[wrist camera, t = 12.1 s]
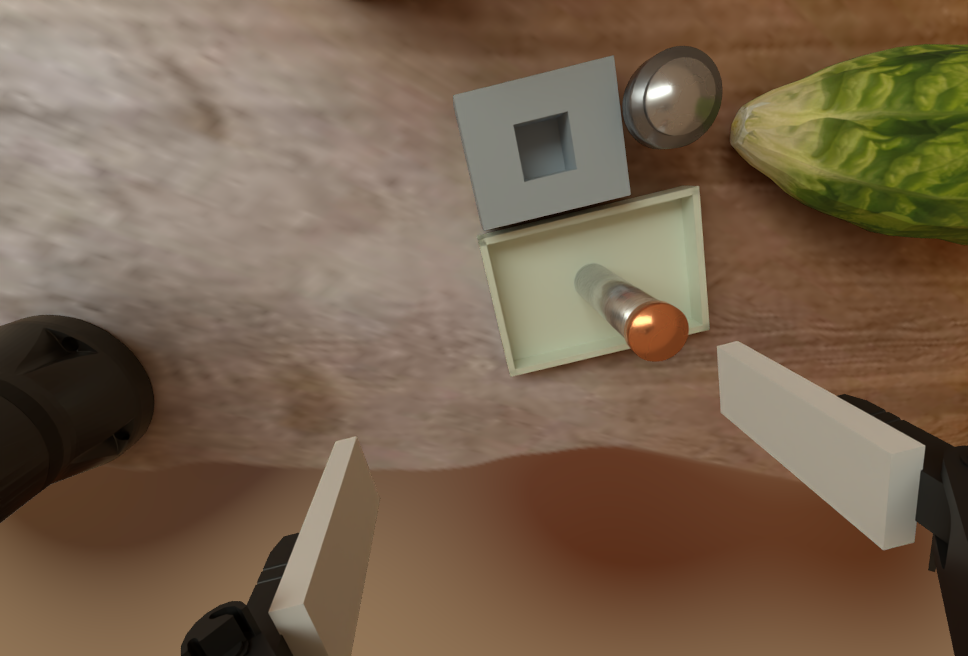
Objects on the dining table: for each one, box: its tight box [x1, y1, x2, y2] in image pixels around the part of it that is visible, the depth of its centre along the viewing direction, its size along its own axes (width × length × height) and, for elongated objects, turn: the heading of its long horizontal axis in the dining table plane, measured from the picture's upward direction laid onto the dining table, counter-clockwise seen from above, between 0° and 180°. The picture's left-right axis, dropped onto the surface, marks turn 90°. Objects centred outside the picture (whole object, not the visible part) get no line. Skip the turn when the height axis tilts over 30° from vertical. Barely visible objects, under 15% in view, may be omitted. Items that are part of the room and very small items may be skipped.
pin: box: [574, 263, 689, 362], centre depth 36 cm, size 4×4×15 cm
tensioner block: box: [453, 55, 631, 231], centre depth 37 cm, size 12×10×5 cm
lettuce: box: [730, 44, 968, 245], centre depth 36 cm, size 14×23×13 cm, turn 81°
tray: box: [477, 185, 710, 377], centre depth 42 cm, size 19×13×3 cm
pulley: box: [623, 46, 722, 149], centre depth 35 cm, size 6×6×8 cm
